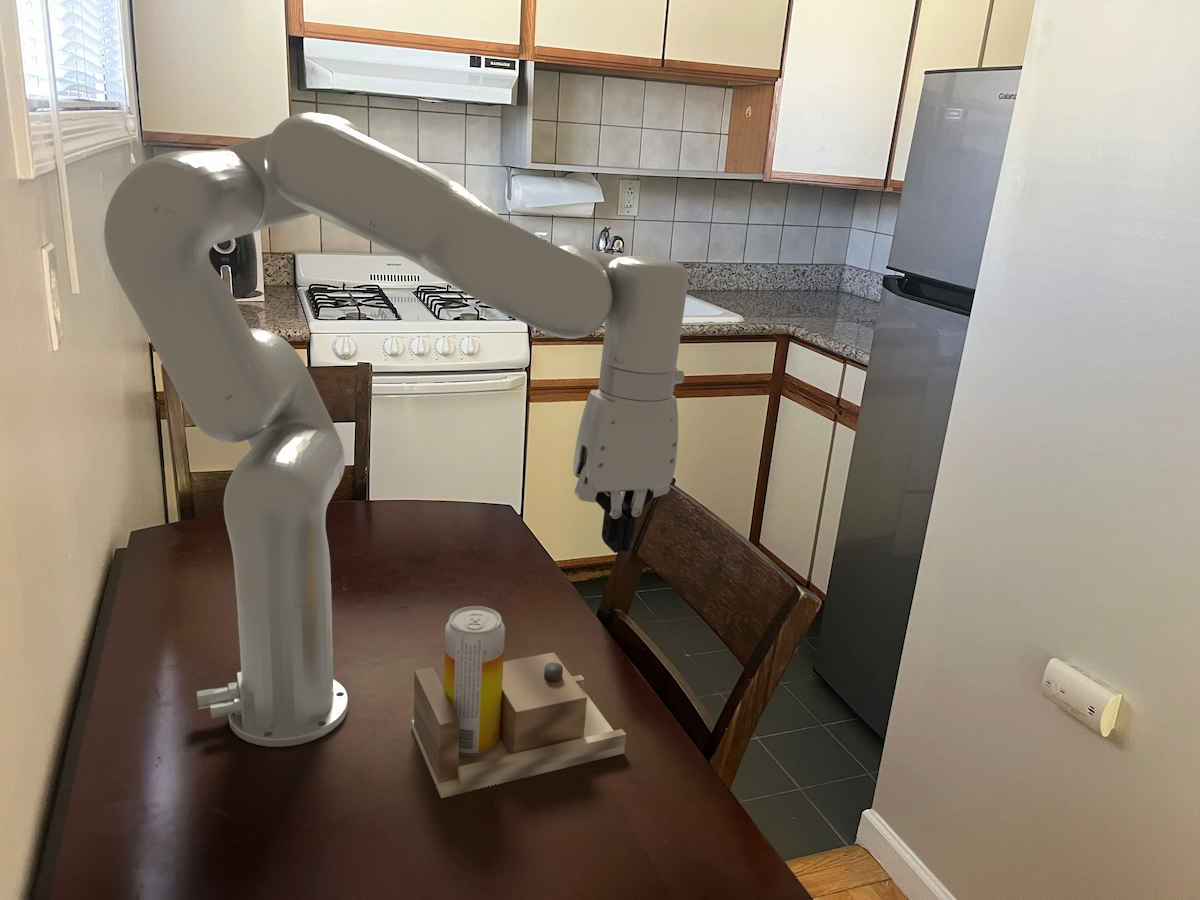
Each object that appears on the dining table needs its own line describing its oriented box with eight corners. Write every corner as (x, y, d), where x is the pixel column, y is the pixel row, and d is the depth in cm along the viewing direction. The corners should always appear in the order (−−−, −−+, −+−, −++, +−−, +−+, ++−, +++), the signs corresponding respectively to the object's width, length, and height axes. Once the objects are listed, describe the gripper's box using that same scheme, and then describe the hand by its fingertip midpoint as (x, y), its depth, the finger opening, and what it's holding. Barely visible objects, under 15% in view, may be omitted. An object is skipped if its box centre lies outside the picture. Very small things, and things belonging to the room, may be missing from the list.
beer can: (501, 725, 99) (507, 605, 94) (497, 761, 93) (502, 636, 88) (446, 722, 99) (449, 602, 94) (438, 758, 93) (441, 632, 88)
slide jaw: (513, 760, 93) (516, 702, 91) (485, 710, 101) (487, 655, 99) (583, 744, 97) (587, 687, 94) (550, 696, 104) (554, 643, 102)
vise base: (441, 798, 89) (442, 730, 86) (411, 727, 99) (412, 665, 97) (624, 753, 98) (630, 690, 95) (579, 692, 108) (584, 634, 105)
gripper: (681, 371, 96) (659, 526, 102) (553, 373, 90) (538, 538, 96) (718, 391, 90) (693, 555, 96) (584, 394, 84) (565, 570, 89)
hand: (616, 546), depth 96 cm, fingers closed
